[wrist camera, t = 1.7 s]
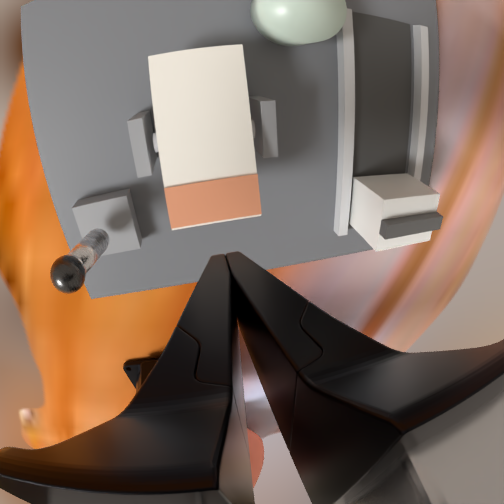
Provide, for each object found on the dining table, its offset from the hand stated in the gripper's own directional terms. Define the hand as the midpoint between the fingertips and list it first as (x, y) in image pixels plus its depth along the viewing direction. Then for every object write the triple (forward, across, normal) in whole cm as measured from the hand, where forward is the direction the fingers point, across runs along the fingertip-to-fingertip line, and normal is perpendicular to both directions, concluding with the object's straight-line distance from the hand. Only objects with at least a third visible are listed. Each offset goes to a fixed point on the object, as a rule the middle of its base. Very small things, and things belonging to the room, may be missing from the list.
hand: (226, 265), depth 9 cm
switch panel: (+9, -3, -3) cm, 10 cm away
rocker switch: (+5, 0, -3) cm, 6 cm away
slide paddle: (+7, -10, +2) cm, 13 cm away
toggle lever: (+6, +5, +1) cm, 8 cm away
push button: (+7, -5, -8) cm, 12 cm away
